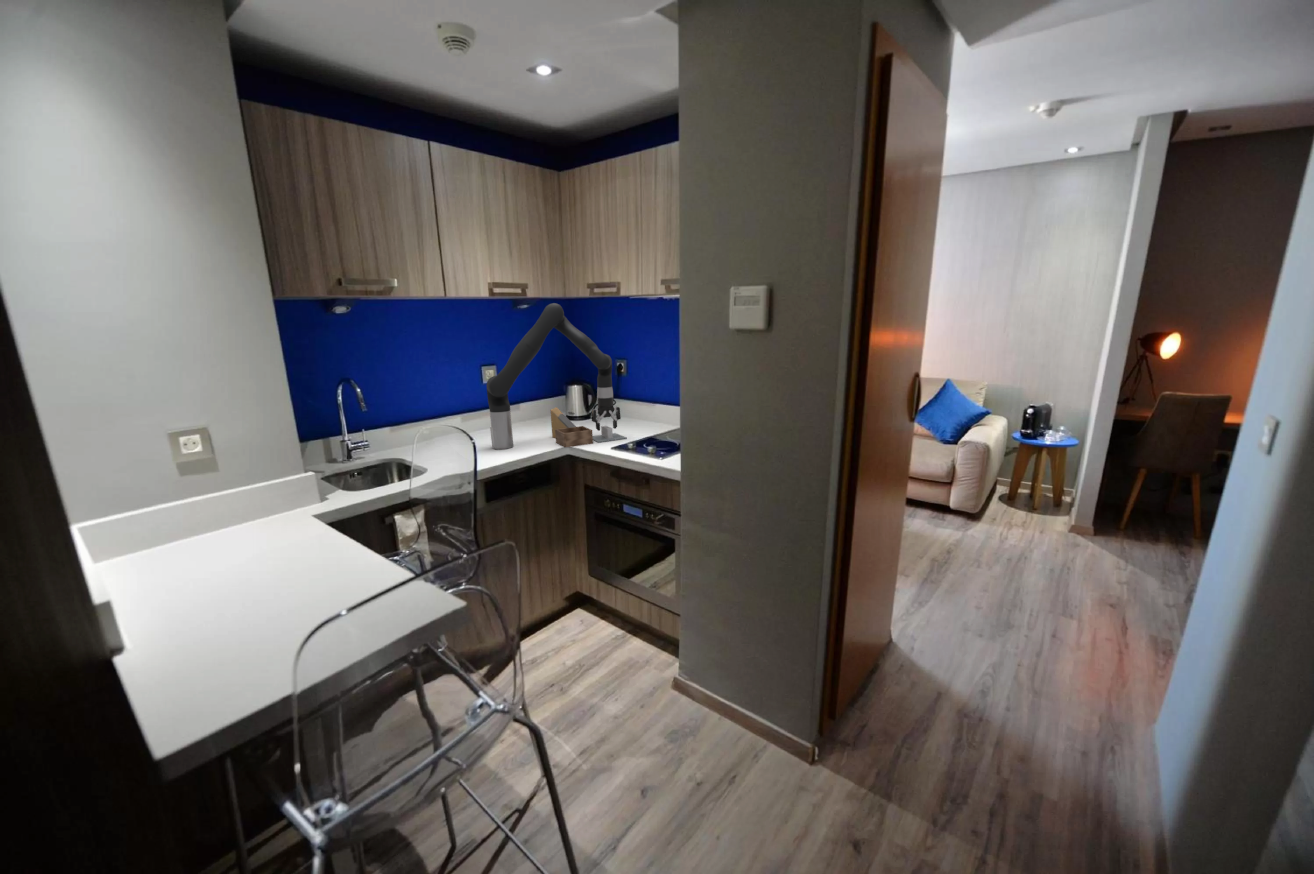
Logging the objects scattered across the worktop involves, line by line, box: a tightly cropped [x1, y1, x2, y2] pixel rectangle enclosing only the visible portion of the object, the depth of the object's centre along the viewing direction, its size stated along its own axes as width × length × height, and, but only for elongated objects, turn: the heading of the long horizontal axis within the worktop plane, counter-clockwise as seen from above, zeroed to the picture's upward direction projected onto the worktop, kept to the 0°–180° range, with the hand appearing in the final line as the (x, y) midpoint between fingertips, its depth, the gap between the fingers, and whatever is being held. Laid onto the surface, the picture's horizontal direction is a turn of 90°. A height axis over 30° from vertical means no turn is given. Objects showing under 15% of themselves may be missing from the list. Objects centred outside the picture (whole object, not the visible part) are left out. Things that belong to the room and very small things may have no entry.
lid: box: [593, 425, 627, 444], centre depth 256 cm, size 15×13×7 cm
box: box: [555, 425, 594, 448], centre depth 248 cm, size 14×12×7 cm
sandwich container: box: [550, 407, 577, 439], centre depth 262 cm, size 9×15×15 cm, turn 81°
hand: (606, 429), depth 255 cm, fingers open, 8 cm apart
